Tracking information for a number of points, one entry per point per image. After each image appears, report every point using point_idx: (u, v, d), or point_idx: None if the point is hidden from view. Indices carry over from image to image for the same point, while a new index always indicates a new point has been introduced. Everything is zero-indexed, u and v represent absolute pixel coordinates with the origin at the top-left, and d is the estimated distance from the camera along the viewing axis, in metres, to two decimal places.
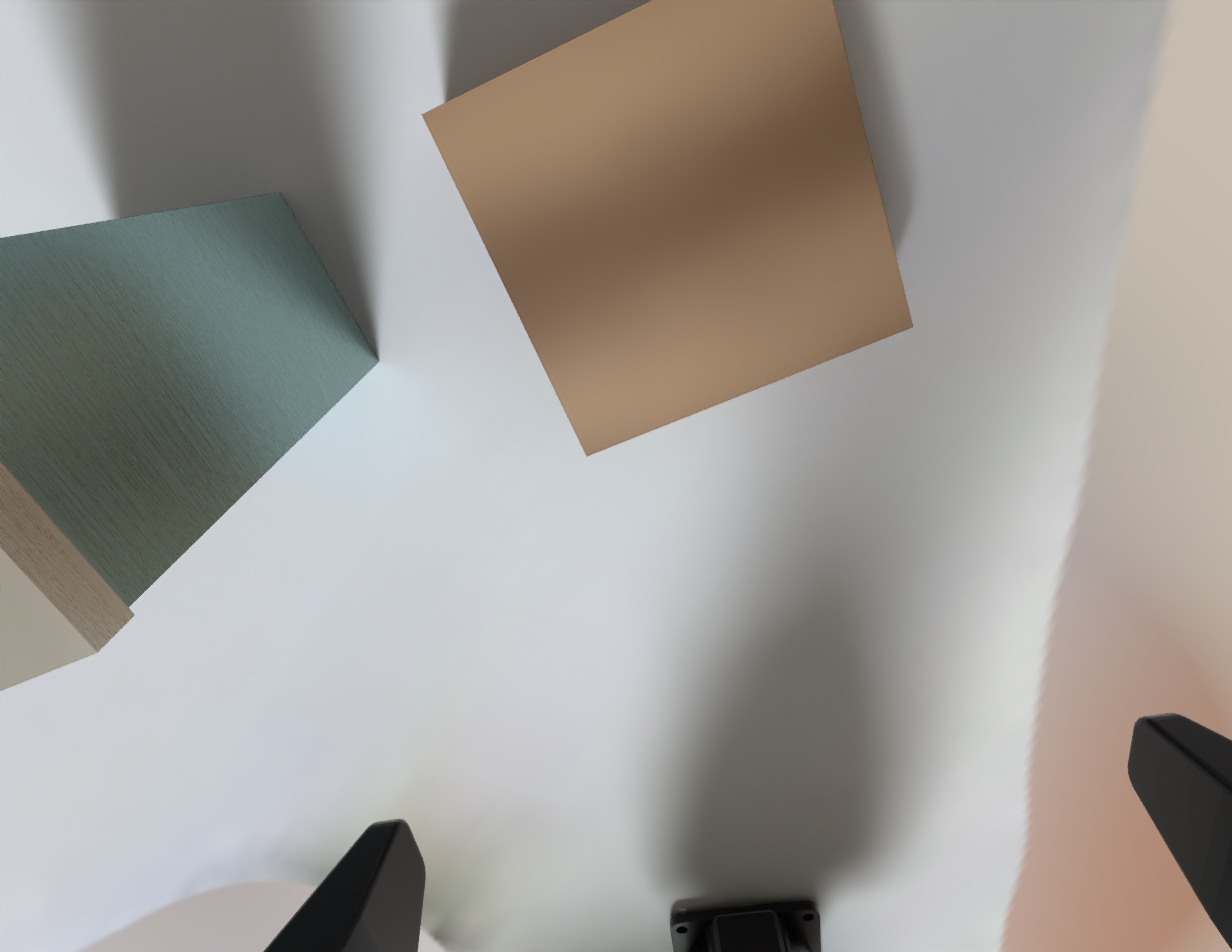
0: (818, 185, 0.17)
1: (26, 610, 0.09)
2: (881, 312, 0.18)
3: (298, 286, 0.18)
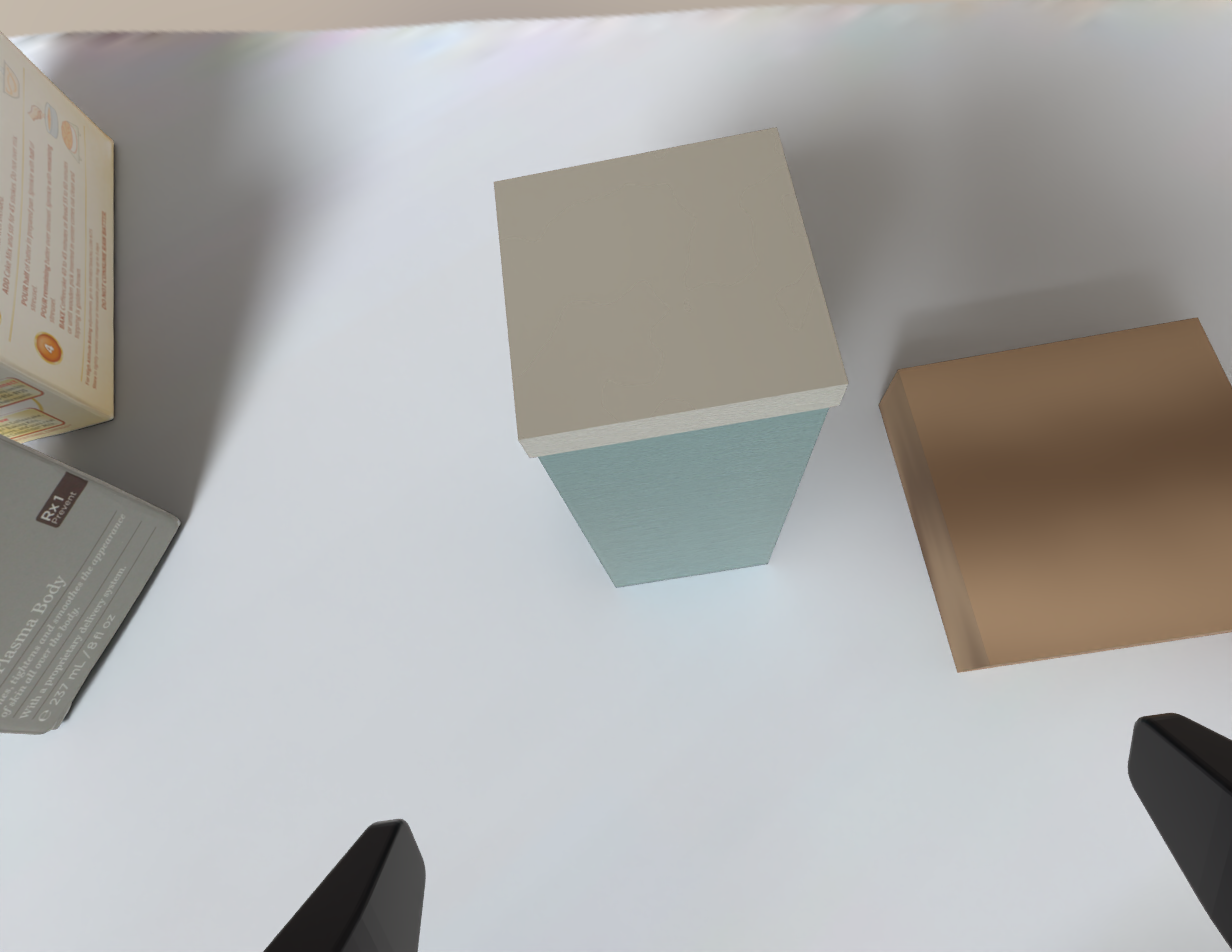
0: (1222, 473, 0.20)
1: (812, 338, 0.11)
2: None
3: None
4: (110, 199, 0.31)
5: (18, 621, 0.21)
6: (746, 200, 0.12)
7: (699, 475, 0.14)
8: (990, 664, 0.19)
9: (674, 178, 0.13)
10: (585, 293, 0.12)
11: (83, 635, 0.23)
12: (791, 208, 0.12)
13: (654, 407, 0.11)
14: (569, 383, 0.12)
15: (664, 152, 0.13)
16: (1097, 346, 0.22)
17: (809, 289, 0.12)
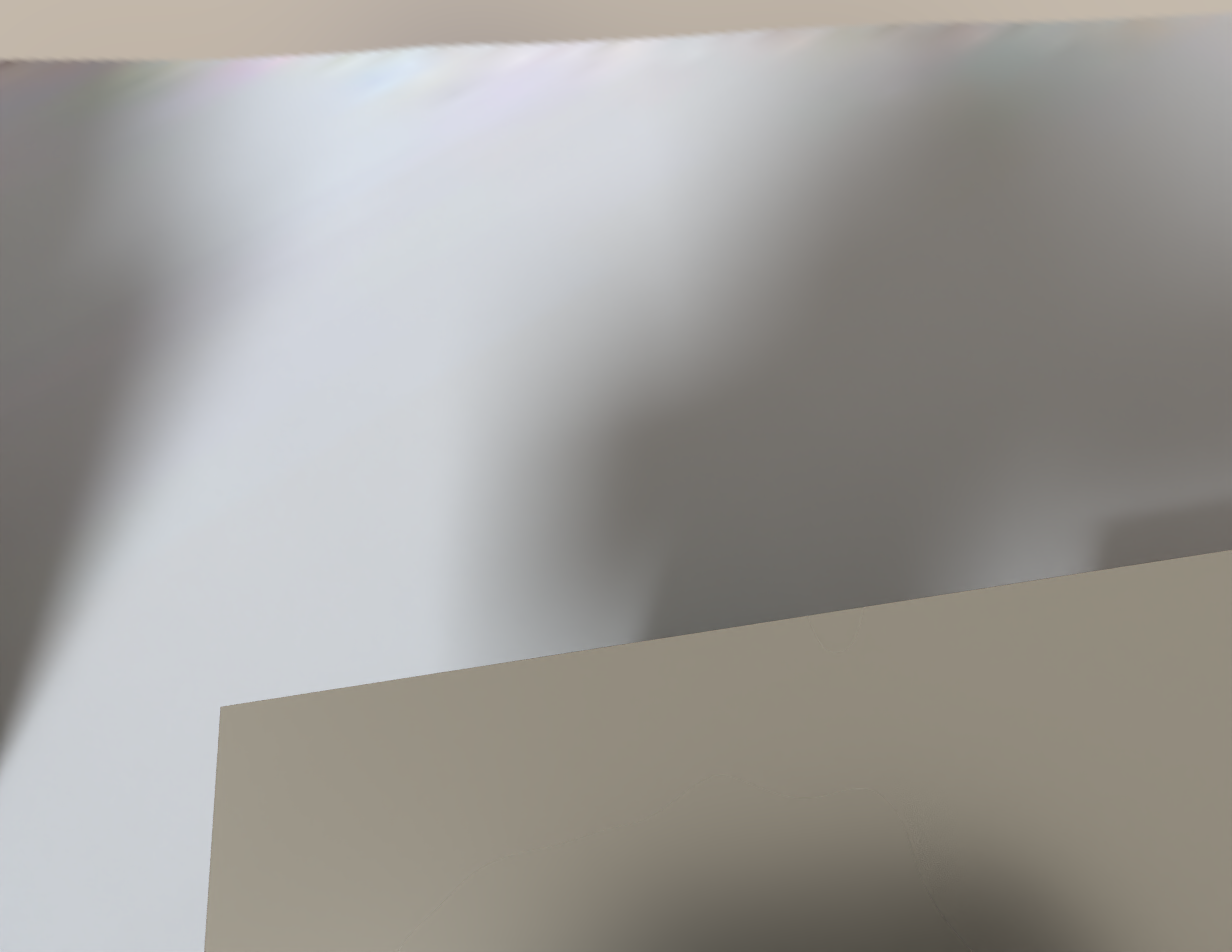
0: None
1: None
2: None
3: None
4: None
5: None
6: None
7: None
8: None
9: (908, 764, 0.03)
10: None
11: None
12: None
13: None
14: None
15: (853, 625, 0.03)
16: None
17: None
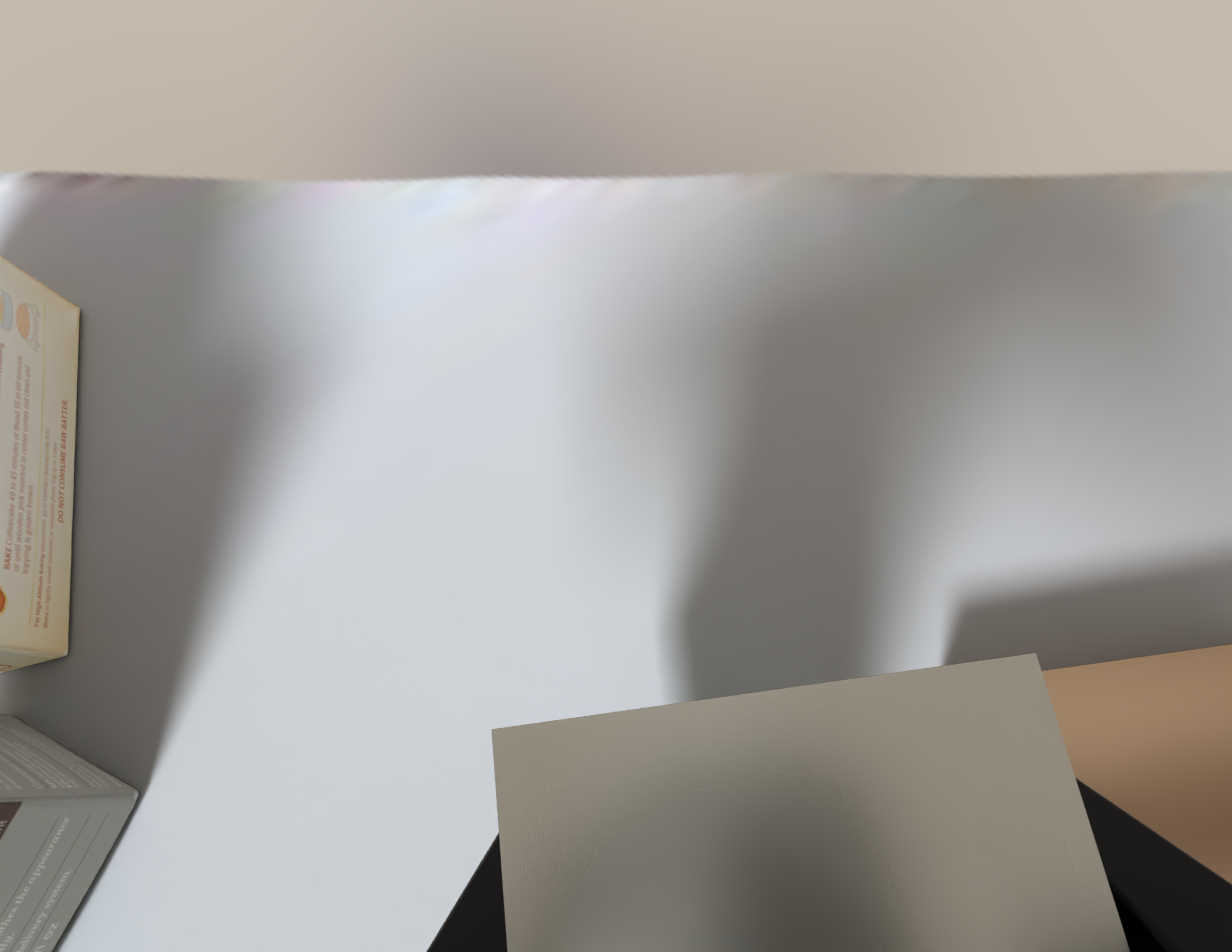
0: None
1: None
2: None
3: None
4: (73, 381, 0.28)
5: None
6: (991, 836, 0.06)
7: None
8: None
9: (841, 760, 0.07)
10: None
11: None
12: (1086, 866, 0.06)
13: None
14: None
15: (818, 692, 0.07)
16: (1204, 663, 0.18)
17: None
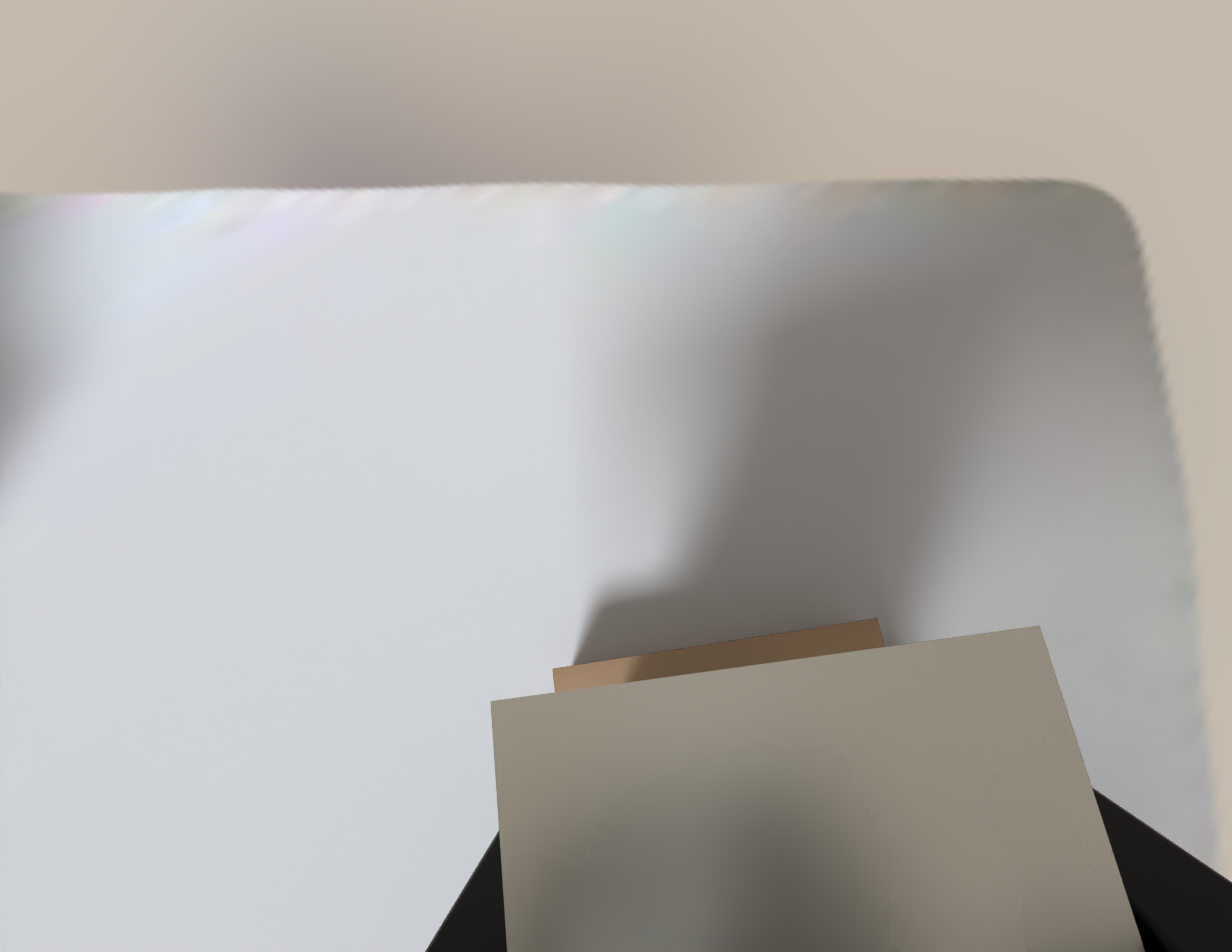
0: None
1: None
2: None
3: None
4: None
5: None
6: (997, 807, 0.06)
7: None
8: None
9: (846, 732, 0.06)
10: None
11: None
12: (1091, 837, 0.06)
13: None
14: None
15: (823, 664, 0.07)
16: (765, 650, 0.19)
17: None
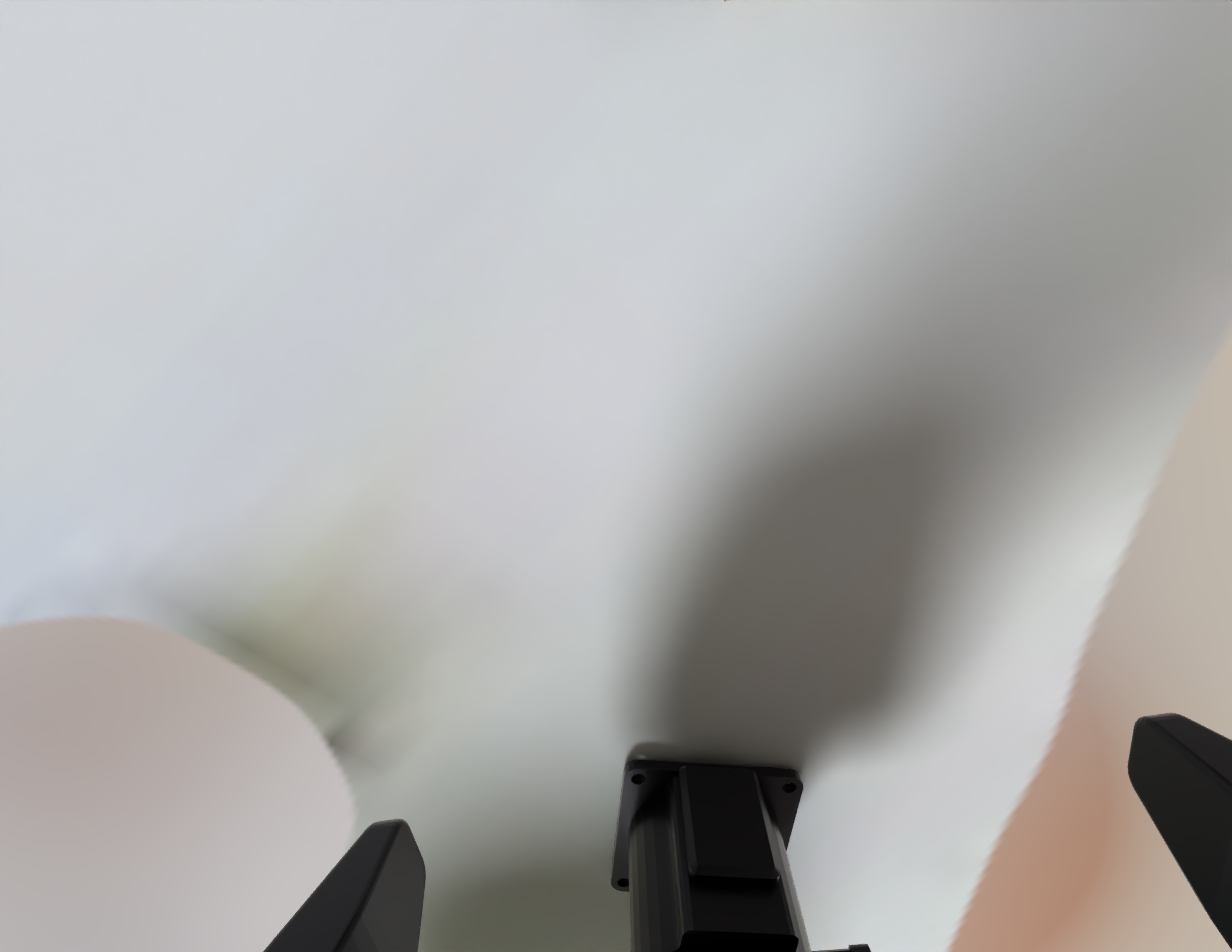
0: None
1: None
2: None
3: None
4: None
5: None
6: None
7: None
8: None
9: None
10: None
11: None
12: None
13: None
14: None
15: None
16: None
17: None
